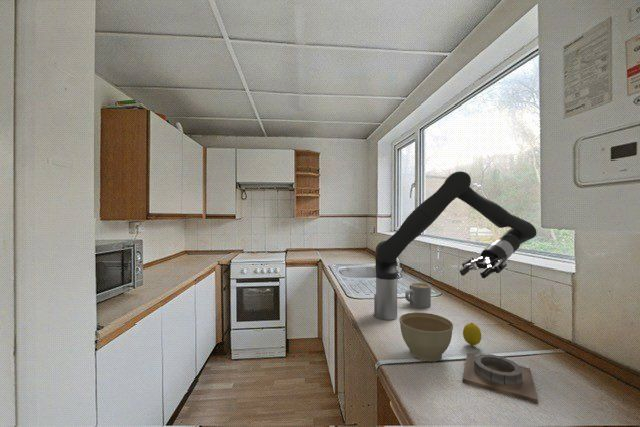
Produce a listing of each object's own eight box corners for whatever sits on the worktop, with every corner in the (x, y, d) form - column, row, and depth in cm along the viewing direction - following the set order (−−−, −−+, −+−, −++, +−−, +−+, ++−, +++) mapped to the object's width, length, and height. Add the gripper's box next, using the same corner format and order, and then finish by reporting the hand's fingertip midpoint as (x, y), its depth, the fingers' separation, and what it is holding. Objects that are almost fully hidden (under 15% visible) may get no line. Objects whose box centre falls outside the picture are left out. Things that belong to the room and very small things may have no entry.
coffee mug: (424, 301, 144) (424, 282, 145) (434, 307, 135) (434, 287, 135) (399, 302, 142) (399, 283, 143) (408, 309, 133) (408, 288, 133)
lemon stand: (462, 382, 74) (462, 369, 74) (466, 356, 88) (466, 345, 88) (537, 403, 66) (537, 388, 66) (529, 371, 80) (529, 359, 80)
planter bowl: (389, 347, 94) (389, 315, 94) (427, 340, 100) (427, 309, 100) (422, 372, 79) (422, 334, 79) (465, 362, 85) (465, 326, 85)
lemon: (484, 350, 92) (483, 326, 92) (465, 349, 93) (465, 325, 93) (478, 343, 97) (477, 320, 97) (460, 341, 98) (460, 319, 98)
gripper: (476, 244, 112) (451, 264, 106) (512, 244, 99) (485, 267, 93) (483, 260, 113) (458, 281, 107) (520, 262, 100) (494, 286, 94)
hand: (471, 274), depth 100 cm, fingers open, 8 cm apart
